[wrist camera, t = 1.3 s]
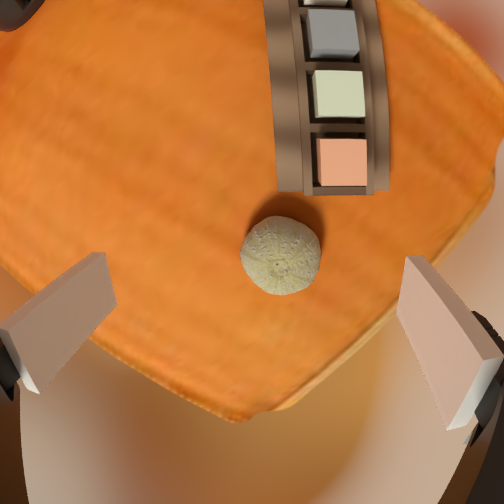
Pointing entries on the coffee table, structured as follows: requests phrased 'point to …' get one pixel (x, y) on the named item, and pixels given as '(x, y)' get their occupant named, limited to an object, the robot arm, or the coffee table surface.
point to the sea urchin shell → (281, 255)
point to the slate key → (332, 33)
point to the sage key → (338, 94)
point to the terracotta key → (342, 161)
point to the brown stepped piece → (302, 99)
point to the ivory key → (326, 2)
